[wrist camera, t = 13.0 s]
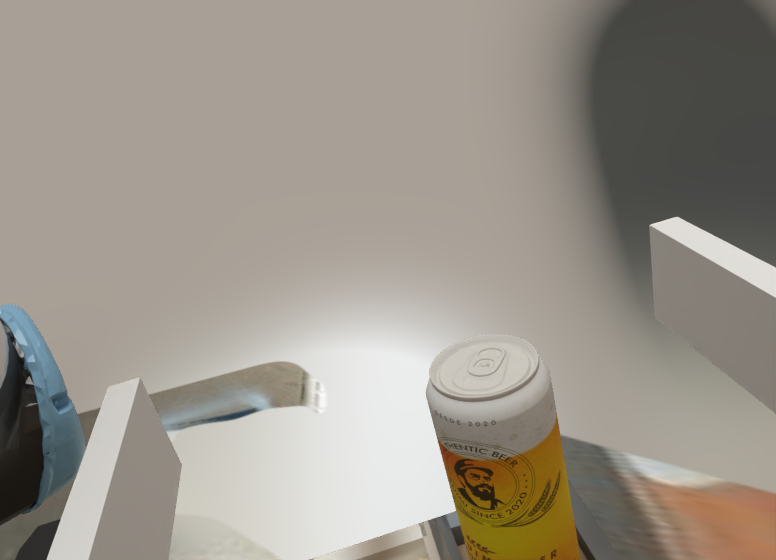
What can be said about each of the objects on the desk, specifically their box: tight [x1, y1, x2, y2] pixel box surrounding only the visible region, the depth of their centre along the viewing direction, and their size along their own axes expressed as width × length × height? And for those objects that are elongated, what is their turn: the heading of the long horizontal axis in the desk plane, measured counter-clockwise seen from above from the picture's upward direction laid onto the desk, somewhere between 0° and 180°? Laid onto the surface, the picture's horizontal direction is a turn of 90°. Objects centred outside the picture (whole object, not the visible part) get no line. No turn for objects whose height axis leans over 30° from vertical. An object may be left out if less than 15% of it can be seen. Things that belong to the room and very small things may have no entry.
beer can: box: [426, 334, 581, 560], centre depth 35 cm, size 6×6×15 cm
